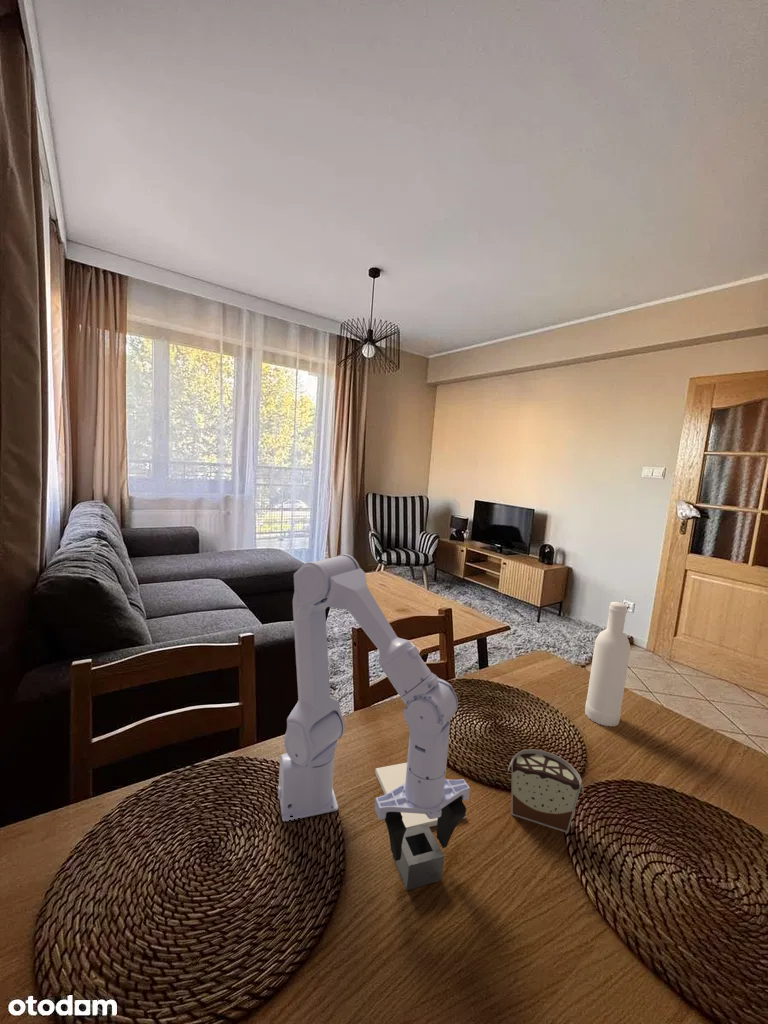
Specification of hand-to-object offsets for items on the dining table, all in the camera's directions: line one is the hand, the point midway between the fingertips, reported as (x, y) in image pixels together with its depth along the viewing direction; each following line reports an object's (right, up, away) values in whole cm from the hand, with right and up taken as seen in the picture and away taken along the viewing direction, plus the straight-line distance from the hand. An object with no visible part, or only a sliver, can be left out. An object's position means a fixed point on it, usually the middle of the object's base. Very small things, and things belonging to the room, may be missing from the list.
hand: (419, 848), depth 64 cm
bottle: (+50, -2, +44) cm, 67 cm away
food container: (+23, -4, +13) cm, 26 cm away
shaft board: (+1, -2, +15) cm, 15 cm away
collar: (0, -3, +1) cm, 3 cm away
